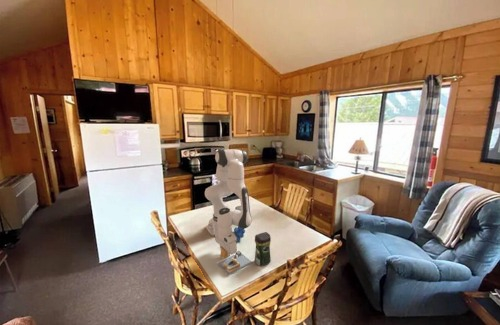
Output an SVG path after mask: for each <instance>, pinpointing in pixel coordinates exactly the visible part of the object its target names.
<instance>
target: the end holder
mask: <svg viewBox="0 0 500 325" xmlns="http://www.w3.org/2000/svg"><path fill="white" fill-rule="evenodd" d="M232 261H233V263H234V264H235V265H234V266H232V267H231V268H229V267H228V266H227V265H226V264H225V263H223V267H224V268H225V269H226V270H227V271H228V272H229V273H231V272H233V271H234V270H236V269H238V268H240V263H239V262H238V261H237V260H235V259H234V258H232Z"/></svg>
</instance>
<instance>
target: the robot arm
mask: <svg viewBox="0 0 500 325" xmlns="http://www.w3.org/2000/svg"><path fill="white" fill-rule="evenodd" d="M214 156H215V157H214V159H215V162H216V164H217V166H216V172H215V177H216V180H218V181H219V183H217V184H213V185H210V186H208V187H207V188H205V191H204V197H205V198H206V199H207V200H208V201H209V202H210V203H211V204H212V208H213V213H212V218H210V219H209V221H208V223H207V224H206V225H205V228H206V230H207V231H208V233H209V234H210V235H211V236H214V240H215V242H216V243H217V244H218V245H219V248H220V249H221V247H223V248H224V249H225V250H226V251H227V252H228V253H227V256H228V257H227V258H229V257H231V256H232V255H233V254H234V255H235V254H236V252H237V251H238V250H237V249H238V246H237V241H235V240H237V237H236V236H235V235H234V233H233V232H234V230H233V229H232V228H233V227H232V226H236V227H237V228H238V227H240V228H242V229H244V230H245V229H247V228H249V227H250V226H251V224H252V221H253V220H252V215H251V214H252V213H251V210H250V208H251V207H250V197H249V196H250V195H249V190H248V188H247V187H246V184H245V168H244V167H245V166H244V165H245V164H246V163H247V162H248V153H247V152H246V150H243V149H236V148H230V149H228V148H226V149H221V148H220V149H218V150H217V151H216V152H215V155H214ZM233 194H235V195H236V196H237V197H238V198H239V200H240V208H241V209H240V210H238V209H236V208H229V206H228V205H229V204H228V203H227V202H226V201H223V198H225V197H229V196H231V195H233Z"/></svg>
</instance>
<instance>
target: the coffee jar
mask: <svg viewBox="0 0 500 325" xmlns="http://www.w3.org/2000/svg"><path fill="white" fill-rule="evenodd" d="M271 238H272V237H271V234H270V233H269V232H267V231H265V232H264V231H263V232H260V233H258V234H256V235H255V236H254V243H255V253H254V262H255V264H257V265H258V266H259V267H262V266H266V265H268V264H269V263H271V262H272V259H271V258H272V257H271V248H270V247H271V242H272V239H271Z"/></svg>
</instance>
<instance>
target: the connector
mask: <svg viewBox="0 0 500 325" xmlns="http://www.w3.org/2000/svg"><path fill="white" fill-rule="evenodd" d="M227 253H228V252H227V251H226V250H225V249H224V248H223V247H221V248H220V256H221V258H222V259H223V260H225V259H227V258H229V257H228V256H227Z"/></svg>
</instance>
